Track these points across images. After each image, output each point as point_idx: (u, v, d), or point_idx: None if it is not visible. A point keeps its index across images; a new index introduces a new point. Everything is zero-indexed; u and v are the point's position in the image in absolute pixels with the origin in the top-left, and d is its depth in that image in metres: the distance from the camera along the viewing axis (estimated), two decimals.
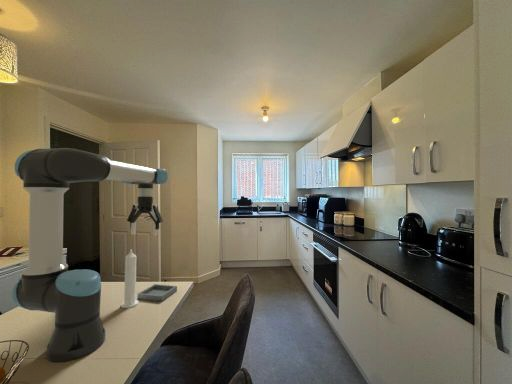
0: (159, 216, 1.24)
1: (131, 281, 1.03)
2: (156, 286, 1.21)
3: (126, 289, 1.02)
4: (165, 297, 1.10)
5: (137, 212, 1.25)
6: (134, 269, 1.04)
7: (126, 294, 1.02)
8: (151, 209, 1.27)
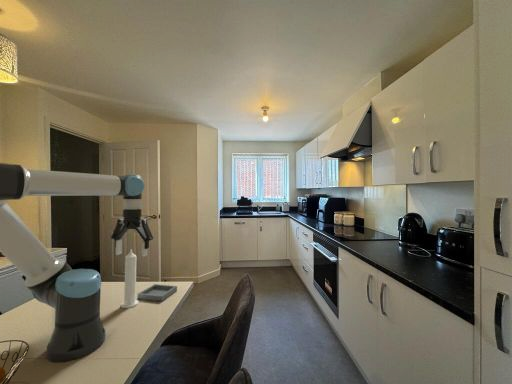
0: (149, 233, 1.04)
1: (131, 281, 1.03)
2: (156, 286, 1.21)
3: (126, 289, 1.02)
4: (165, 297, 1.10)
5: (123, 228, 1.04)
6: (134, 269, 1.04)
7: (126, 294, 1.02)
8: (139, 224, 1.06)
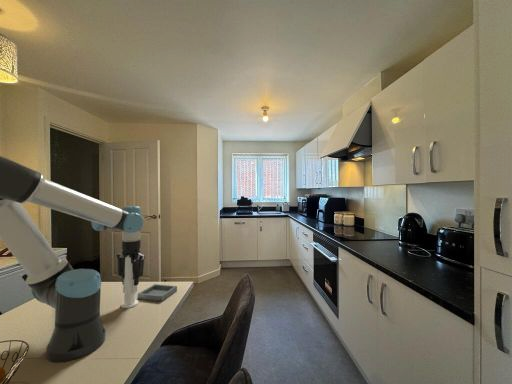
0: (141, 270, 1.04)
1: (131, 281, 1.03)
2: (156, 286, 1.21)
3: (126, 289, 1.02)
4: (165, 297, 1.10)
5: (124, 262, 1.04)
6: None
7: (126, 294, 1.02)
8: (137, 257, 1.06)
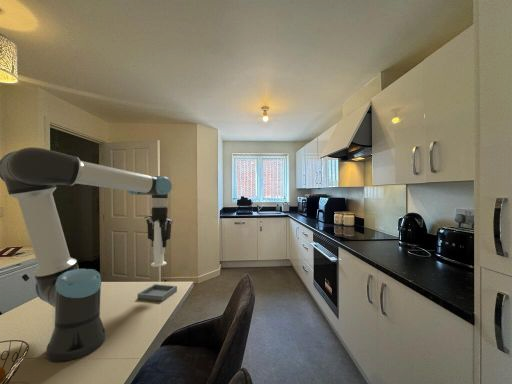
0: (169, 233, 1.14)
1: None
2: (156, 286, 1.21)
3: (156, 250, 1.13)
4: (165, 297, 1.10)
5: None
6: None
7: (156, 254, 1.13)
8: None
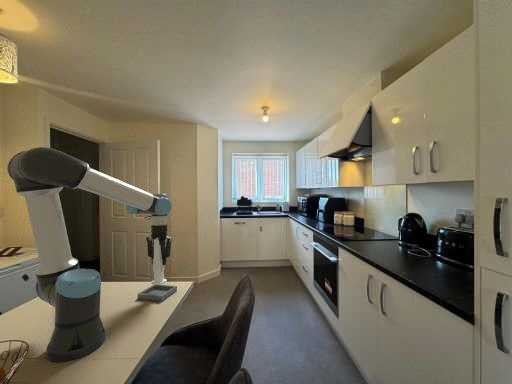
0: (169, 251, 1.14)
1: None
2: (156, 286, 1.21)
3: (156, 268, 1.13)
4: (165, 297, 1.10)
5: (153, 243, 1.14)
6: None
7: (156, 272, 1.13)
8: (164, 239, 1.17)
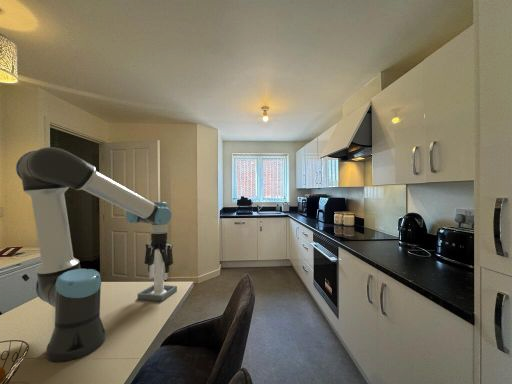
0: (171, 258, 1.14)
1: (160, 272, 1.13)
2: None
3: (156, 279, 1.13)
4: (165, 297, 1.10)
5: (152, 251, 1.14)
6: (162, 261, 1.15)
7: (156, 284, 1.13)
8: None
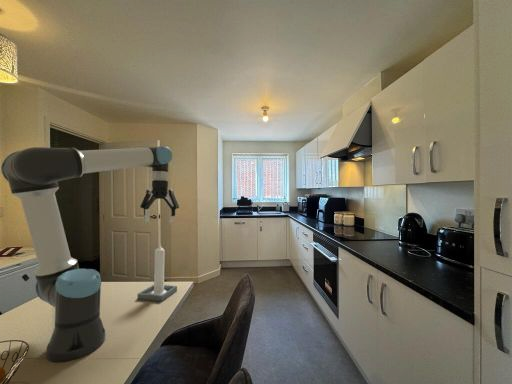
0: (175, 202, 1.14)
1: (160, 272, 1.13)
2: None
3: (156, 279, 1.13)
4: (165, 297, 1.10)
5: (151, 197, 1.15)
6: (163, 261, 1.15)
7: (156, 284, 1.13)
8: (166, 194, 1.17)
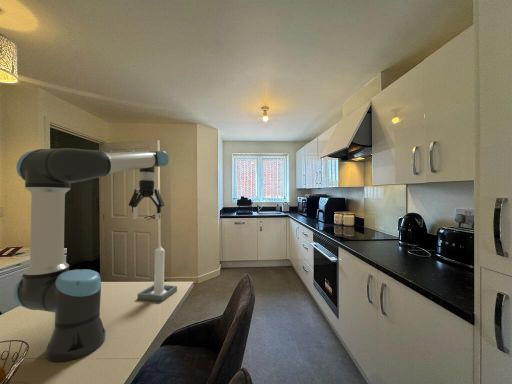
0: (161, 200, 1.24)
1: (160, 272, 1.13)
2: None
3: (156, 279, 1.13)
4: (165, 297, 1.10)
5: (139, 196, 1.25)
6: (163, 261, 1.15)
7: (156, 284, 1.13)
8: None
